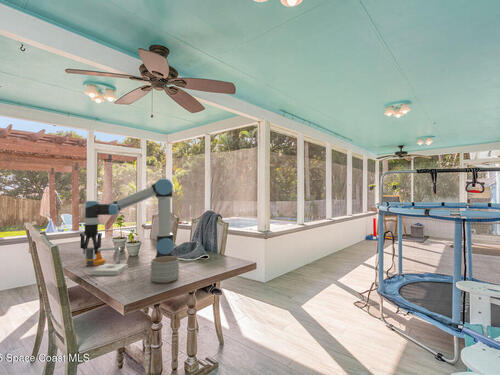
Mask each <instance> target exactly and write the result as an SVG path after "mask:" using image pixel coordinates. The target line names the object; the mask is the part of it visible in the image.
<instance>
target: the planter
mask: <svg viewBox="0 0 500 375" xmlns="http://www.w3.org/2000/svg"><path fill="white" fill-rule="evenodd" d="M173 256H174V255H173ZM173 256H165V257H158V258H155V257H154V258H152V259H151V260H150V261H151V262H150V263H151V265H150V269H151V270H150V279H151V281H152V282H154V283H156V284H168V283H169V282H170V283H173V282H175V281H176V280H178V279H179V277H180V276H179V275H180V273H179V271H180V270H179V268H180V258H179V257H177V256H174V257H173ZM172 281H173V282H172ZM170 283H169V284H170Z"/></svg>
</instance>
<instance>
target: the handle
mask: <svg viewBox="0 0 500 375" xmlns="http://www.w3.org/2000/svg"><path fill="white" fill-rule="evenodd" d="M98 251H101V252H103V251H104V252H105V251H115V253H116V254H115V262H116V263H115V264H121V263H120V261H121V246H117V247H106V248H98Z"/></svg>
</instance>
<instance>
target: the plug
mask: <svg viewBox="0 0 500 375" xmlns="http://www.w3.org/2000/svg"><path fill="white" fill-rule="evenodd" d="M93 249H94V246H91V247H89V246H88V247H87V259H85V260H86V261H87V264H86V266H87V267H93V265H94V260H95V259H94V260H93ZM86 261H85V262H86Z"/></svg>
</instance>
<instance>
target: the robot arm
mask: <svg viewBox="0 0 500 375" xmlns="http://www.w3.org/2000/svg"><path fill="white" fill-rule="evenodd" d="M173 187H174V185H173V183H172V181H171V180H170V179H168V178H165V177H162V178H159V179H157V181H156V182H155V183H153V184H150V185H149V187H146V188H144V189H142V190H139V191H137V192H135V193H134V192H133V193H132V194H130V195H127V196H125V197H122V198H120V199H117V200H115V201H112V202H110V203H99V201H98V200H87V201H86V202H85V208H84V232H82V233H80V234H79V237H80V246H79V248H80V249H83V255H84V260H86V259H87V248H89V242H90V239H91V240H92V245H93V247H94V249H93V260H94V259H96V254H97V253H98V249H102V235H103V233H102V232H101V233H100V232H99V231H98V229H99V228H98V227H99V225H98V222H99V216H115V215H118V214H119V212H120V211H121V210H124V209H126V208H129V207H131V206H134V205H136V204H138V203H141V202H143V201H146V200H148V199H150V198H153V197H155V198H156V199H157V207H158V210H157V213H158V216H157V217H158V222H157V223H158V224H157V225H158V233H157V234H156V244H155V245H156V246H155V247H156V254H155V257H154V258H158V257H165V256H173V257H175V256H174V253H173V250H174V248H175V243H174V233H173V232H172V222H171V220H172V216H171V215H172V214H171V213H172V212H171V209H172V208H171V199H172V197H173Z"/></svg>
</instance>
